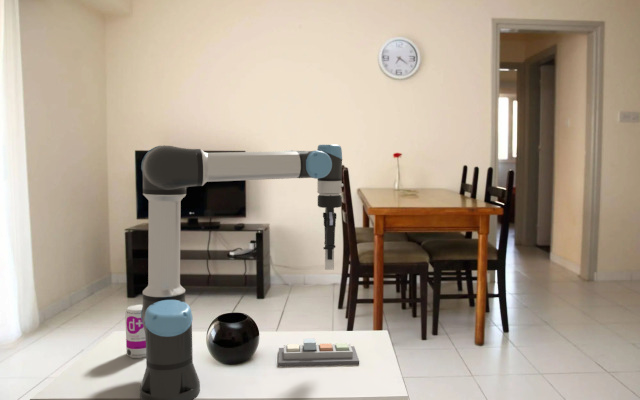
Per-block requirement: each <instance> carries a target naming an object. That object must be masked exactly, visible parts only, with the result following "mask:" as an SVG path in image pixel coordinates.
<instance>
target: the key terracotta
mask: <svg viewBox="0 0 640 400" xmlns="http://www.w3.org/2000/svg"><path fill="white" fill-rule="evenodd" d="M331 344H332V343H330V342H329V343H319V345H320V351H332V345H331Z"/></svg>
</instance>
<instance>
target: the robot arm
mask: <svg viewBox="0 0 640 400" xmlns="http://www.w3.org/2000/svg"><path fill="white" fill-rule="evenodd" d="M140 167H141V168H140V169H141V172H142V195H143V196H144V197H145V198H146V199H147V200H148V248H147V249H148V260H147V261H148V264H147V265H148V271H147V272H148V277H147V278H148V279H147V280H148V281H147V282H148V284H147V286H146V287H145V288H144V289H143V290H142V304H143V307H142V310H141V319H142V323H143V326H144V331H145V337H146V357H145V359H146V360H145V362H146V363H145V364H146V368H145V370H144V374H143V377H142V381H141V383H140V388H139V395H140V396H139V398H140V400H193V399H194V398H196V397H197V396H198V395H199V394H200V393H201V392H200V391H201V382H200V378H199V376H198V373H197V371H196V368H195V365H194V362H193V324H192V323H193V313H192V308H191V306H190V305H189V304H188V303H187V302H186V288H184V287H183V286H182V285H181V214H182V213H181V210H182V209H181V207H182V206H181V201H182V200H183V198H185V197H186V195H187V188H189V187H203V186H204V185H205V184H206V183H207V182H208V183H209V182H211V183H212V182H233V181H258V180H280V179H281V180H283V179H286V180H287V179H316V180H317V182H316V183H317V185H316V186H317V188H316V189H317V191H316V192H317V194H319V195H317V206H318V208H324V212H323V213H322V217H323V226H324V246H323V248H322V249H323V250H324V270H327V271H329V270H333V271H334V269H335V248H336V245H335V238H336V221H337V213H336V212H335V208H336V209H337V208H338V209H339V208H341V207H342V206H343V200H342V199H343V198H342V195H341V194H342V188H343V187H344V183H342V182H343V181H342V180H343V179H342V177H343V176H342V174H343V173H342V172H343V171H342V170H343V150H342V146H341V145H339V144H318V146H317V149H316V150H285V151H283V150H282V151H235V152H233V151H232V152H230V151H228V152H226V151H225V152H223V151H222V152H205V151H204V150H203V149H202V148H185V147H184V148H183V147H178V146H173V145H158V146H155V147H152V148H151V149H149V150H148V151H147V153H146V154H145V155H144V156H143V158H142V161H141V166H140Z"/></svg>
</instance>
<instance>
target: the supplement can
mask: <svg viewBox="0 0 640 400" xmlns="http://www.w3.org/2000/svg"><path fill="white" fill-rule="evenodd" d="M142 307H143V303H138V304H132V305H129V306H128V307H127V309H126V310H125V341H126V344H125V345H126V347H125V348H126V355H127V356H128V357H129V358H132V359H143V358H146V337H145V331H144V326H143V323H142V319H141V310H142Z"/></svg>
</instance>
